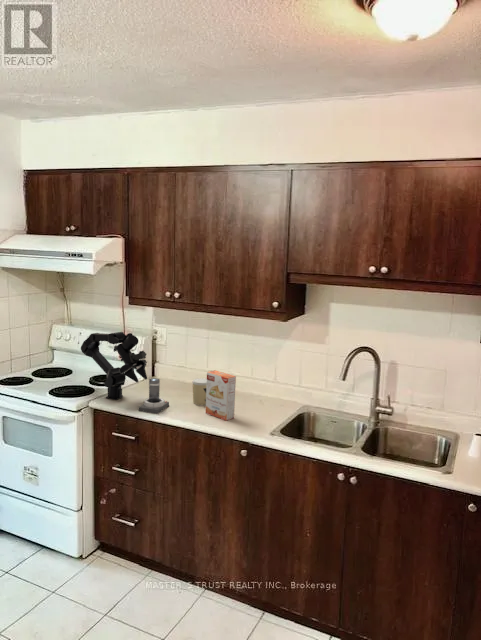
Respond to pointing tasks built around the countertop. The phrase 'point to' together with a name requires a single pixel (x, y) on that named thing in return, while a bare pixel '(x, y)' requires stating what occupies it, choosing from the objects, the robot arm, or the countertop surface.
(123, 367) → the robot arm
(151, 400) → the lens
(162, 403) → the camera body
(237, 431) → the countertop surface
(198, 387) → the coffee cup
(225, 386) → the cracker box
